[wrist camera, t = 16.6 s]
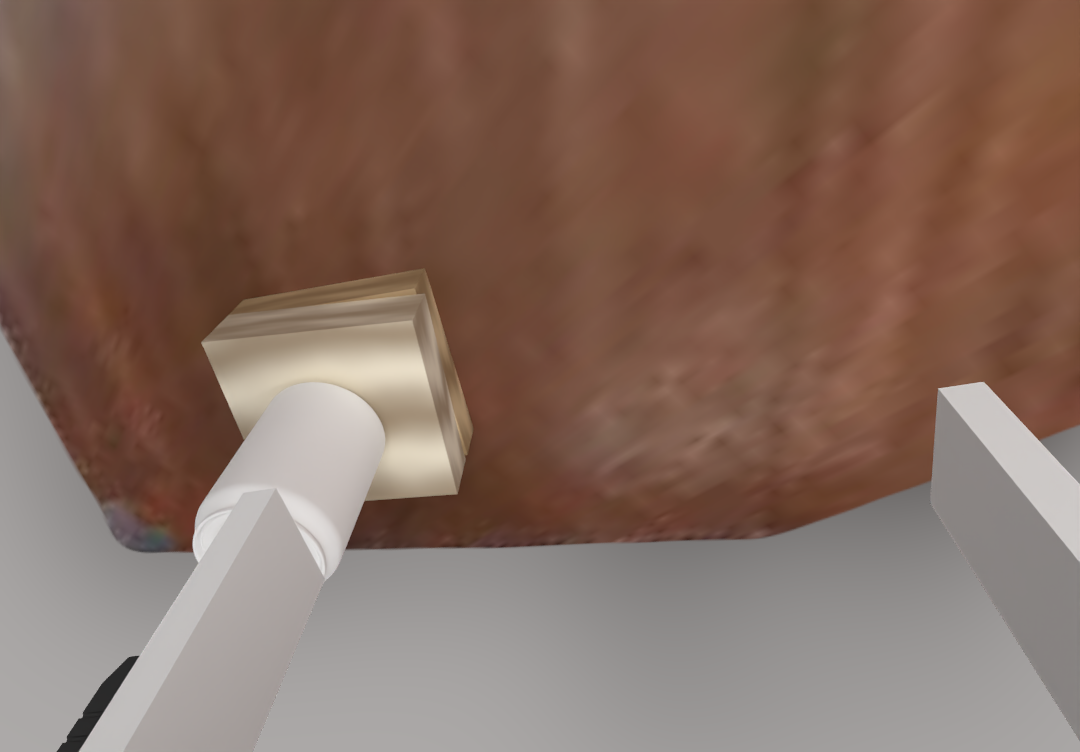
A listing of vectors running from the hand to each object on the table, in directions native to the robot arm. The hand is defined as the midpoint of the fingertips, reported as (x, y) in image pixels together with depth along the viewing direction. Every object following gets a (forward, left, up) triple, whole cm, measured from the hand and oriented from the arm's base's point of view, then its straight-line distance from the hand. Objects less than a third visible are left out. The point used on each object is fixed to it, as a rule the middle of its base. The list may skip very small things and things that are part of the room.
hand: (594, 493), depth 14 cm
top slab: (+14, -20, -31) cm, 40 cm away
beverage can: (+14, -21, -27) cm, 37 cm away
